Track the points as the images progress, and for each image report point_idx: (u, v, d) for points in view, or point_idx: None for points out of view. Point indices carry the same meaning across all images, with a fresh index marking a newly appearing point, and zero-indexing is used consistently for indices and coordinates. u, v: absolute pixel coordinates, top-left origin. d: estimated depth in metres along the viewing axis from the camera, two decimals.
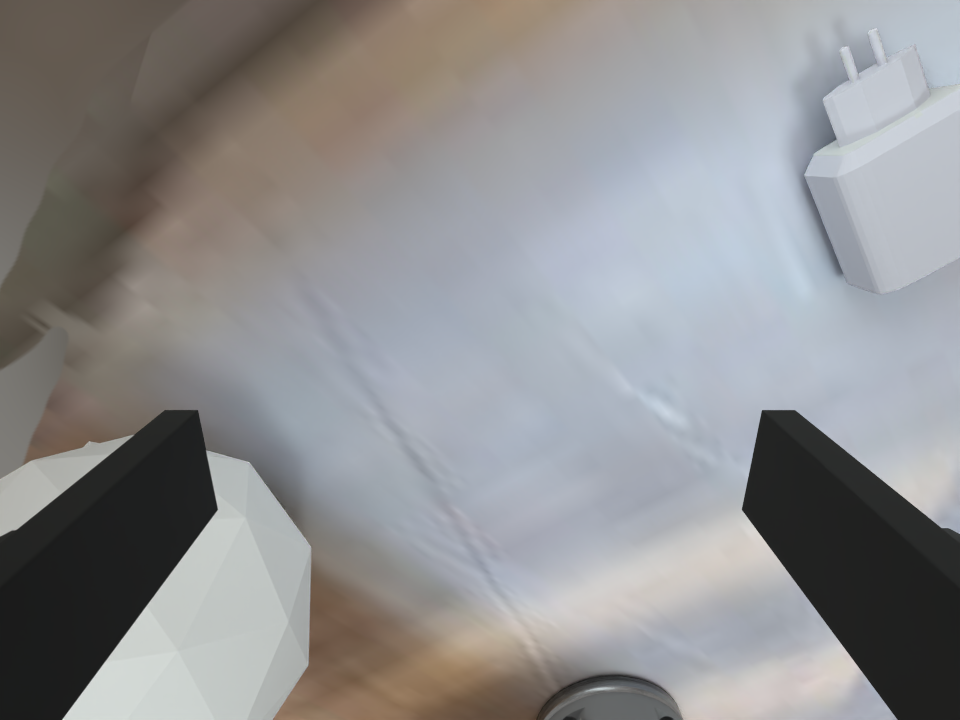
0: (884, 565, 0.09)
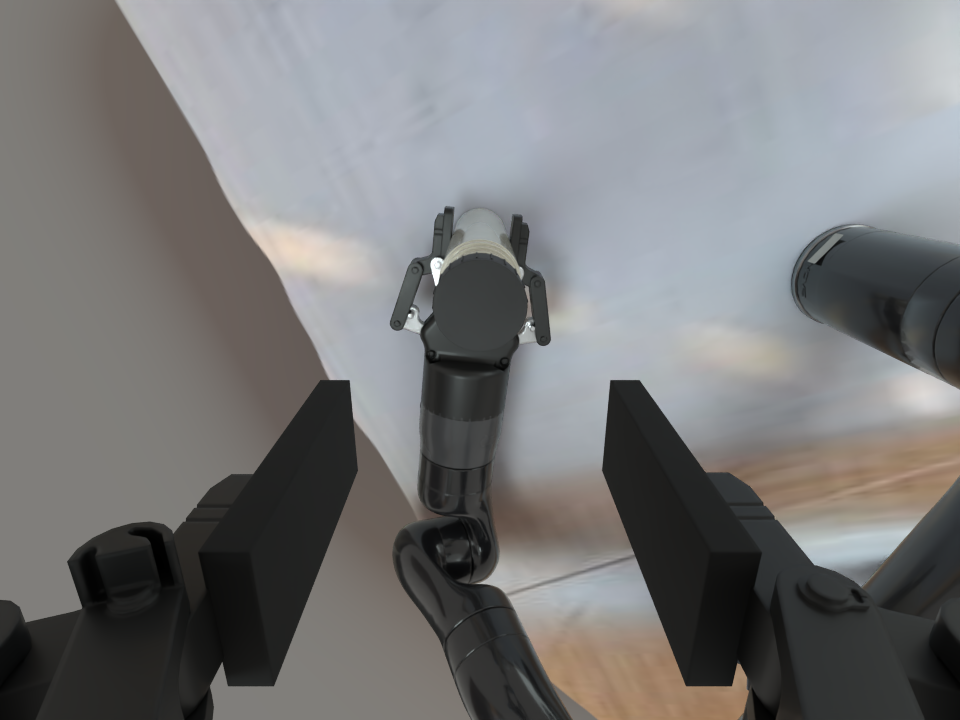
0: (658, 499, 0.10)
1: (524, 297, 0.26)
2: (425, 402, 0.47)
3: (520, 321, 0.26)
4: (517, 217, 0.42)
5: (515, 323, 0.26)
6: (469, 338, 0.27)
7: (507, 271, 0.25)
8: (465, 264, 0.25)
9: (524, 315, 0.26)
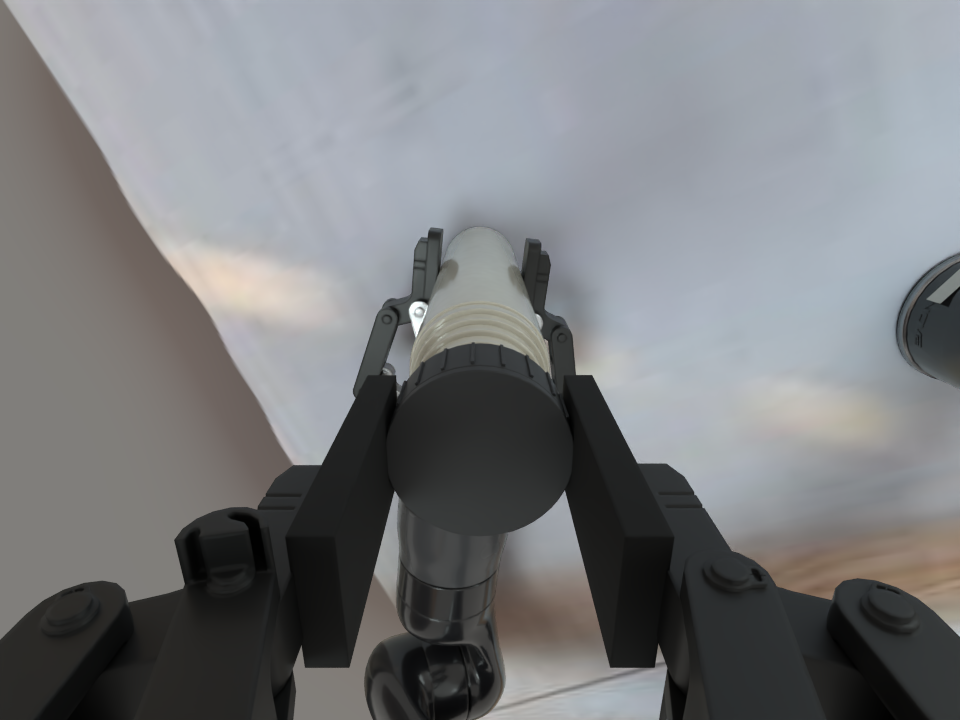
0: (593, 488, 0.11)
1: (569, 441, 0.13)
2: None
3: (560, 484, 0.13)
4: (534, 244, 0.29)
5: (550, 488, 0.13)
6: (458, 514, 0.14)
7: (535, 392, 0.12)
8: (449, 379, 0.12)
9: (568, 474, 0.13)
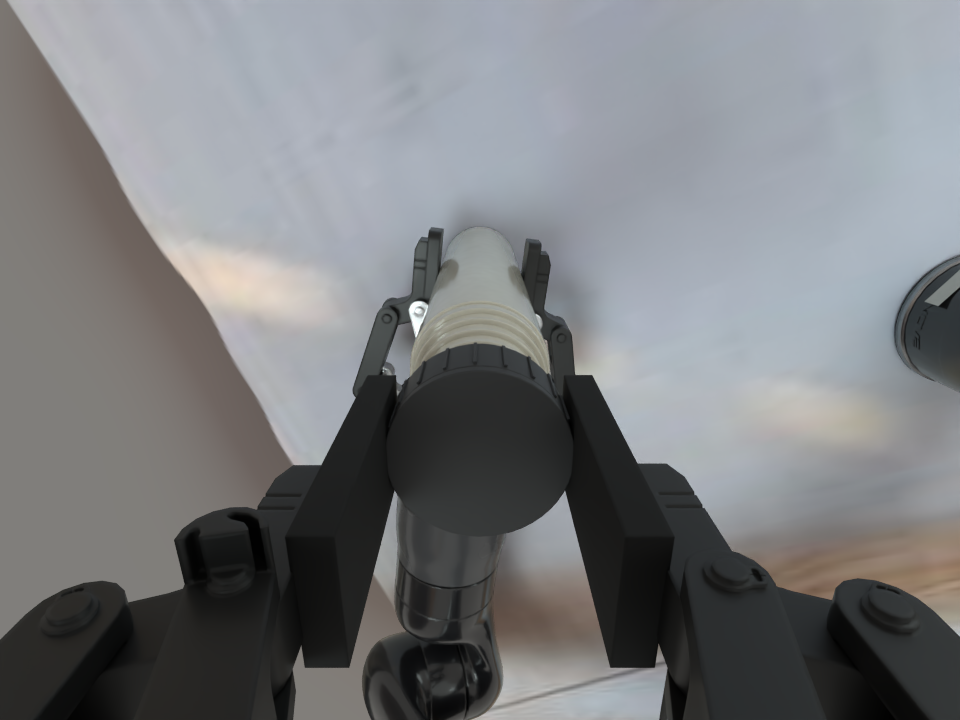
0: (593, 489, 0.11)
1: (461, 376, 0.12)
2: None
3: (513, 383, 0.12)
4: (534, 244, 0.29)
5: (517, 394, 0.12)
6: (544, 478, 0.13)
7: (406, 408, 0.12)
8: (395, 481, 0.13)
9: (500, 376, 0.12)
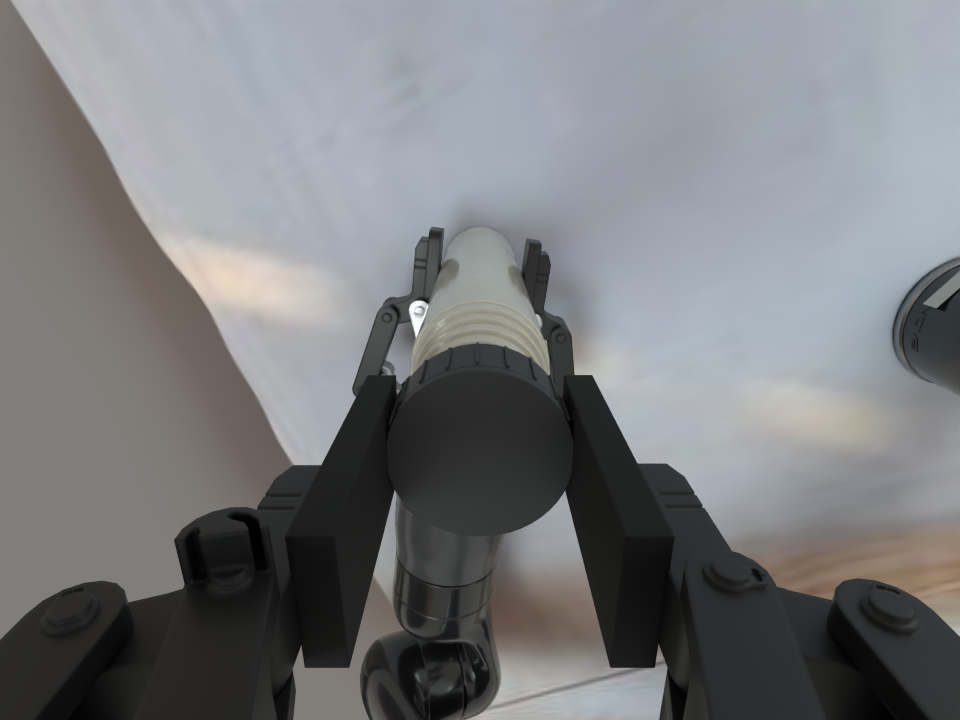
0: (593, 489, 0.11)
1: (391, 472, 0.13)
2: None
3: (397, 429, 0.13)
4: (534, 245, 0.29)
5: (407, 425, 0.13)
6: (505, 399, 0.12)
7: (425, 516, 0.14)
8: (503, 530, 0.14)
9: (389, 440, 0.13)
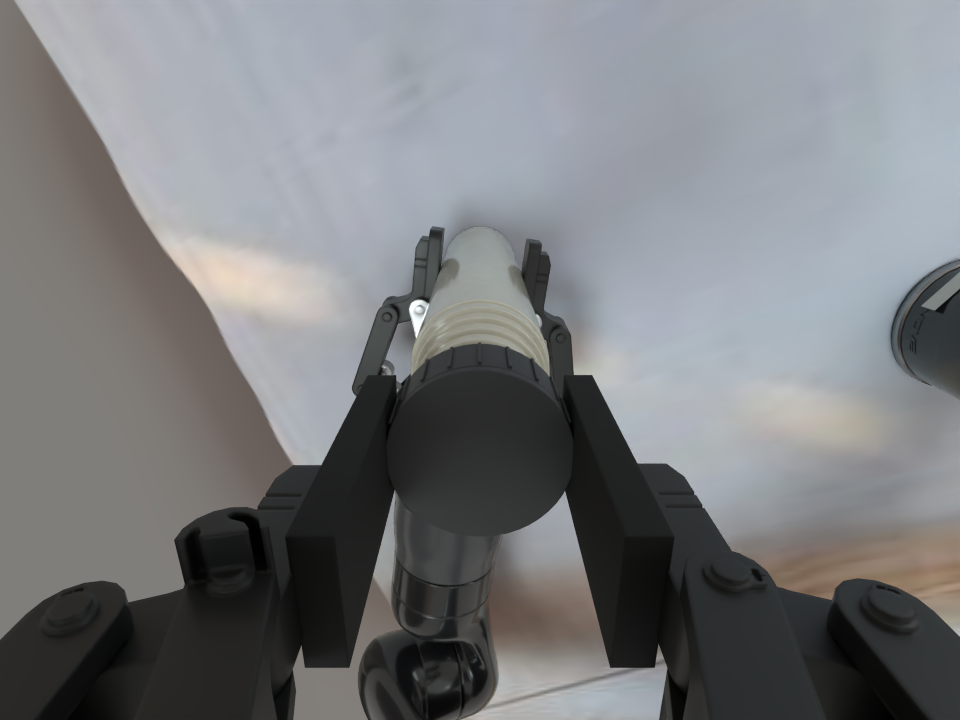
0: (593, 488, 0.11)
1: (493, 533, 0.14)
2: None
3: (446, 525, 0.14)
4: (534, 245, 0.29)
5: (442, 517, 0.14)
6: (414, 436, 0.13)
7: (545, 507, 0.13)
8: (568, 438, 0.13)
9: (458, 532, 0.14)
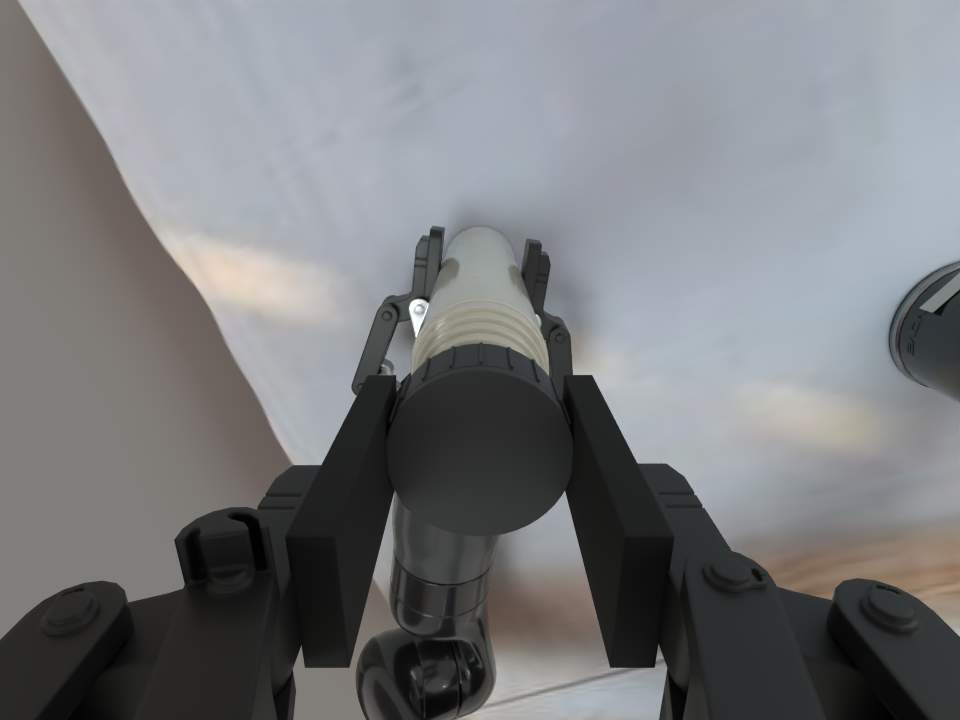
0: (593, 489, 0.11)
1: (570, 448, 0.13)
2: None
3: (557, 490, 0.13)
4: (534, 245, 0.29)
5: (546, 493, 0.13)
6: (453, 512, 0.13)
7: (542, 397, 0.12)
8: (457, 378, 0.12)
9: (566, 480, 0.13)
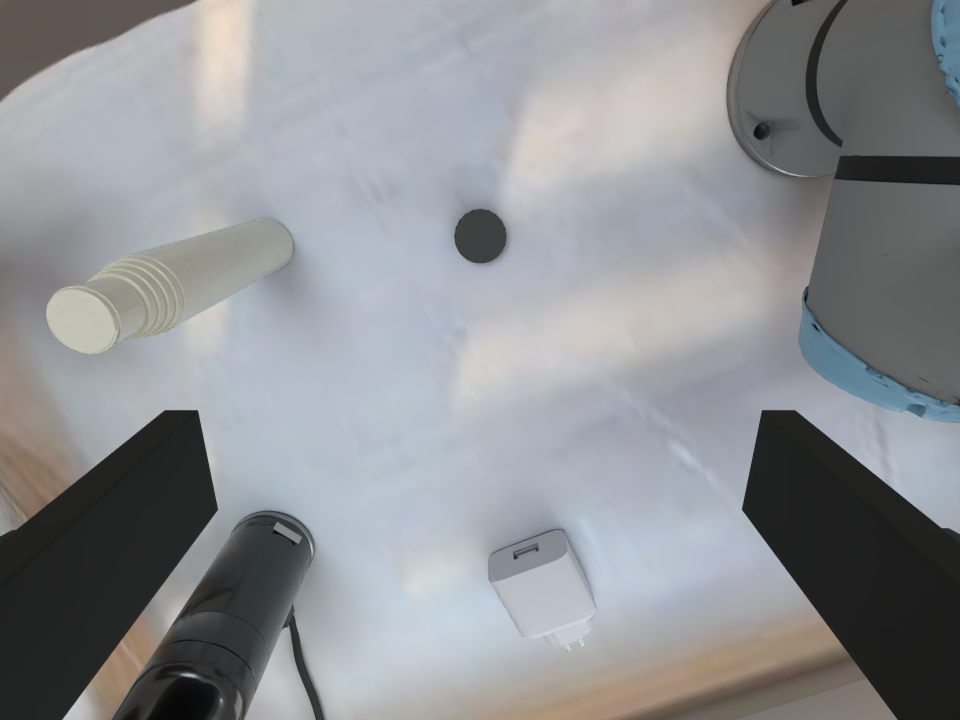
0: (884, 565, 0.09)
1: (504, 234, 0.48)
2: None
3: (501, 247, 0.49)
4: None
5: (498, 248, 0.49)
6: (473, 255, 0.49)
7: (496, 219, 0.48)
8: (474, 213, 0.47)
9: (503, 244, 0.48)
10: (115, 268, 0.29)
